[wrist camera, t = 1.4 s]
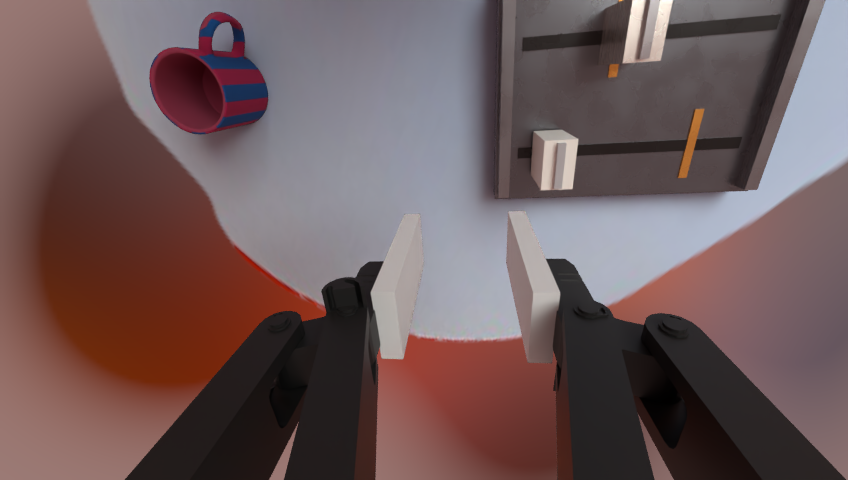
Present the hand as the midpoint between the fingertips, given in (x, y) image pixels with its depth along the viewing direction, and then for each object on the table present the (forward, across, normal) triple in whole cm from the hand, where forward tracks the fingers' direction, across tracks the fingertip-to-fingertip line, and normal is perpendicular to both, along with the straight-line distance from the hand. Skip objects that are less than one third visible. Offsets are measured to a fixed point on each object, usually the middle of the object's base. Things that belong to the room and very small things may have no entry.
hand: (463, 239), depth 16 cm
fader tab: (+18, +7, 0) cm, 20 cm away
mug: (+21, -22, +9) cm, 31 cm away
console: (+21, +14, +4) cm, 26 cm away
